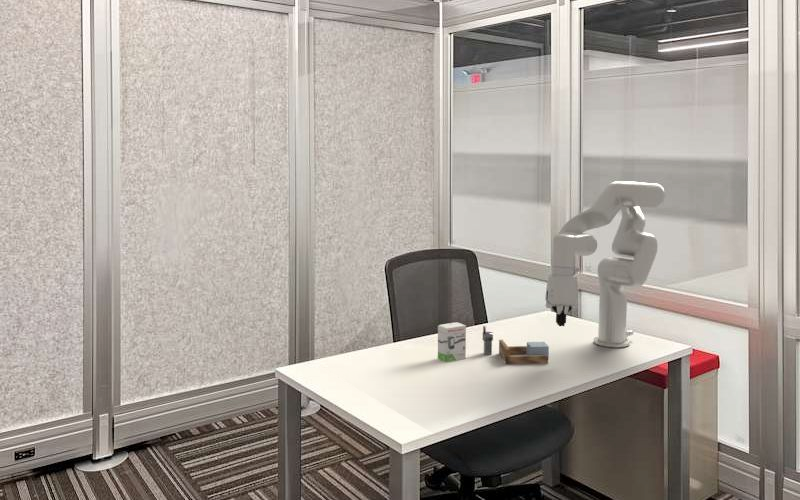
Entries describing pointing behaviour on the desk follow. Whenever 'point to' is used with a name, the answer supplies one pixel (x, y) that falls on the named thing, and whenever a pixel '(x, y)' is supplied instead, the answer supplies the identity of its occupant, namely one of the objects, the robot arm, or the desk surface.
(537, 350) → the blue-grey cube
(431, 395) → the desk surface
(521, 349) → the bay
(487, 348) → the winch post
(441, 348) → the ink box
